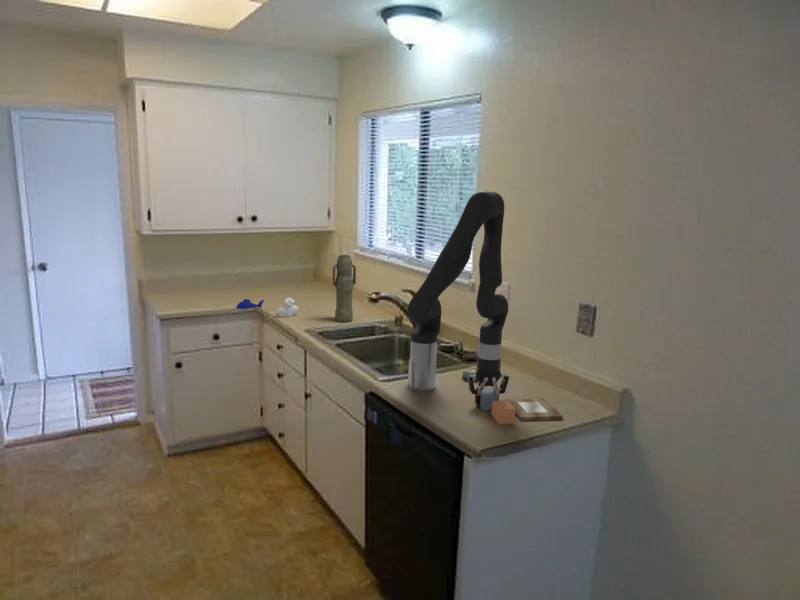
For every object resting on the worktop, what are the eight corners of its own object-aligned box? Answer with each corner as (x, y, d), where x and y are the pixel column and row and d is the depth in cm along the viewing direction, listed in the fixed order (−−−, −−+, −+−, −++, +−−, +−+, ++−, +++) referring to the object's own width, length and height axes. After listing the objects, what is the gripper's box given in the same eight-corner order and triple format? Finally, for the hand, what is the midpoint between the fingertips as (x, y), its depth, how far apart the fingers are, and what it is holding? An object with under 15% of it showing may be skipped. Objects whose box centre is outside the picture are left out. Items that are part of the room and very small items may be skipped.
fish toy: (237, 313, 312) (237, 300, 310) (235, 310, 318) (235, 298, 317) (265, 311, 318) (265, 299, 317) (262, 308, 325) (262, 296, 323)
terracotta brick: (498, 424, 176) (499, 409, 175) (491, 415, 182) (492, 400, 181) (514, 424, 176) (515, 408, 175) (506, 415, 183) (507, 400, 182)
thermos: (358, 324, 294) (359, 256, 287) (336, 326, 288) (337, 257, 281) (350, 320, 302) (351, 254, 295) (329, 322, 296) (330, 254, 289)
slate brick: (482, 410, 186) (482, 396, 185) (475, 402, 193) (476, 388, 192) (496, 410, 187) (497, 395, 186) (490, 402, 193) (491, 388, 192)
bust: (295, 315, 310) (295, 294, 308) (301, 318, 304) (301, 297, 302) (274, 317, 303) (274, 296, 301) (280, 320, 297) (279, 299, 295)
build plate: (519, 420, 179) (520, 416, 178) (504, 402, 193) (504, 399, 193) (562, 419, 181) (562, 415, 180) (543, 401, 195) (544, 398, 195)
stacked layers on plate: (486, 390, 218) (489, 378, 221) (489, 378, 211) (492, 365, 214) (460, 383, 219) (464, 371, 223) (463, 371, 212) (466, 359, 216)
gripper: (471, 359, 181) (468, 410, 185) (514, 358, 184) (511, 409, 187) (464, 352, 189) (462, 401, 192) (507, 352, 191) (503, 400, 194)
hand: (486, 405), depth 189 cm, fingers closed on slate brick, 5 cm apart
